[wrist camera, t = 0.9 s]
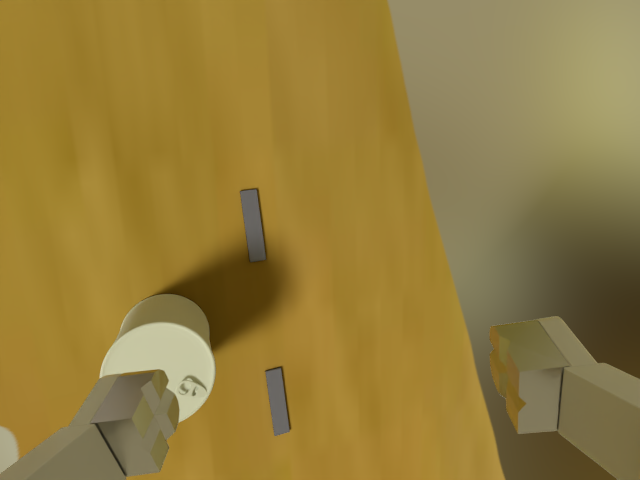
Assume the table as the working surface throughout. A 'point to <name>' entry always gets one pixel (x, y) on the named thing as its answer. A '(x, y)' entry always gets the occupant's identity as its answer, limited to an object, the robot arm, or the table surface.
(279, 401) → the line strip
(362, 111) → the table surface
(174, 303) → the can
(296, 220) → the table surface
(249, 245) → the strip
